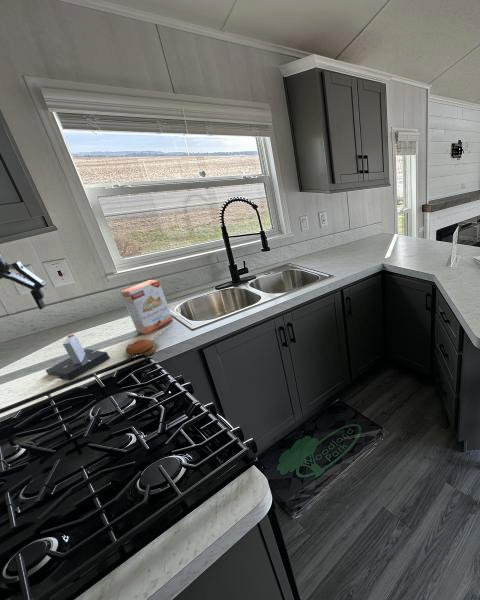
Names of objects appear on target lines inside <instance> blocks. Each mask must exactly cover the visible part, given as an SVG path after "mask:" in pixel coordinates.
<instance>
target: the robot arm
mask: <svg viewBox="0 0 480 600" xmlns="http://www.w3.org/2000/svg"><path fill="white" fill-rule="evenodd" d="M10 269H12V270H14V271H17V272H16V273H19V274H20V275H22V276H23V277H22V276H19V275H18V274H16V273H15V272H12V271H11V270H10ZM2 279H6V280H9V281H12V282H14V283H16V284H18V285H21V286H23V287H25V288H27V289H30V291H29V292H30V294H31V296H32V298H33V300H34V302H35V304H36V305H37V307H38V309H39V310H42V309H43V310H44V308H45V307H46V304H45V302H44V300H43V298H44V297H45V294H44V292H43V291H42V289H43V288H44V287H45V286H47V283H46V281H44V280H43V279H41V278H40V277H38V276H37V275H35V274H34V273H33V272H32V271H30V270H29V269H27V268H26V267H25V266H24V265H23V263H22V262H21V261H19V260H17V261H14V262H11V263H8V262H6V261H5V259H4V257H3V255H2V253H1V252H0V280H2Z"/></svg>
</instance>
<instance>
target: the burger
mask: <svg viewBox="0 0 480 600" xmlns="http://www.w3.org/2000/svg"><path fill="white" fill-rule="evenodd" d="M154 342H155V341H154V340H152V339H151V338H150V339H149V338H141V339H137V340H135V341H134V342H131V343H130V344H127V345H126V347H125V353H127V354H128V358H129V359H131V358H132V357H134V356H136V355H140V354H148V356H150V355H151V354H153V353H155V352H156V350H157V348H156V346H155V345H154Z"/></svg>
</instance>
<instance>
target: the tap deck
mask: <svg viewBox="0 0 480 600" xmlns="http://www.w3.org/2000/svg"><path fill="white" fill-rule="evenodd" d="M83 350H84V352H85V356H84V358H83V360H82V362H81V363H78V364H75V365H74V363H73V361H72V360H71V358H70V356H69V357H68V358H66V359H64V360H62V361H60V362H58V363H57V364H55V365H52V366H50V367H49V368H47V369H45V372H46V373H47V375H48V376H49V375H50V376H55V377H57V379H60V380H65V381H69V382H70V381H72V380H75V379H76V378H78V377H79V376H81V375H84V374H85V373H87V372H89V371H90V370H92V369H94V368H96V367H97V366H99V365H102V364H104V362H106V361H108V360H110V359H111V357H110V356H109V353H108V351H107V352H106V351H101V350H95V349H89V348H86V349H83Z"/></svg>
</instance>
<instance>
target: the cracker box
mask: <svg viewBox="0 0 480 600" xmlns="http://www.w3.org/2000/svg"><path fill="white" fill-rule="evenodd" d="M119 293H120V295H121V297H122V299H123V303H124V305H125V306H126V310H127V311H128V314H129V316H130V318H131V320H132V324H133V326H134V328H135V330H136V333H138V334H144V335H148V334H150V333H152V332H153V331H156V330H158V329H159V328H161V327H163V326H164V325H165V326H166V325H167V324H169V323H170V322H172V321H173V320H174V319H173V316H172V313H171V311H170V307H169V305H168V302H167V300H166V297H165V293H164V291H163V289H162V286H161V283H160V281H159V280H157V279H155V280H153V279H149V280H146V281H143V282H140V283H138V284H135V285H133V286H131V287H127V288H126V289H123V290H121V291H120V292H119Z"/></svg>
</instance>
